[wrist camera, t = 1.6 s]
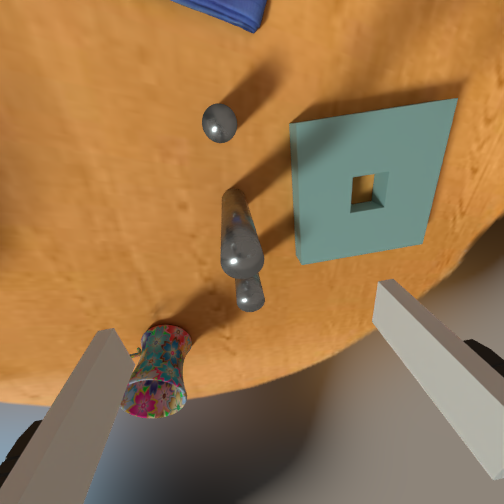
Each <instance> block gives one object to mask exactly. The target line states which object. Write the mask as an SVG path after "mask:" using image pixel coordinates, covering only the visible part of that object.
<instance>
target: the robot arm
mask: <svg viewBox="0 0 504 504" xmlns="http://www.w3.org/2000/svg"><path fill="white" fill-rule="evenodd" d="M372 322H373V324H374V325H375V326H376V327H377V329H378V330H379V331H380V333H381V334H382V335H383V337H384V338H385V339H386V341H387V342H388V343H389V345H390V346H391V347H392V348H393V350H394V351H395V352H396V354H397V355H398V356H399V358H400V359H401V360H402V362H403V363H404V364H405V365H406V367H407V368H408V369H409V371H410V372H411V373H412V375H413V376H414V377H415V379H416V380H417V381H418V383H419V384H420V385H421V386H422V388H423V389H424V390H425V392H426V393H427V394H428V396H429V397H430V398H431V400H432V401H433V402H434V403H435V405H436V406H437V407H438V409H439V410H440V411H441V413H442V414H443V415H444V416H445V418H446V419H447V420H448V422H449V423H450V424H451V426H452V427H453V428H454V430H455V431H456V432H457V434H458V435H459V436H460V438H461V439H462V440H463V441H464V443H465V444H466V445H467V447H468V448H469V449H470V451H471V452H472V453H473V455H474V456H475V457H476V459H477V460H478V461H479V462H480V464H481V465H482V466H483V468H484V469H485V470H486V472H487V473H488V474H489V476H490V477H491V478H492V479H493V480H497V479H501V478H504V360H503V359H502V358H501V357H499V356H498V355H497V354H496V353H495V352H493V351H492V350H491V349H489V348H487V347H485V346H484V345H482V344H480V343H478V342H477V341H475V340H473V339H470V340H466V341H462V340H461V339H460V338H459V337H458V336H456V335H455V334H454V333H453V332H452V331H451V330H450V329H449V328H447V327H446V326H445V325H444V324H443V323H442V322H441V321H440V320H439V319H438V318H436V317H435V316H434V315H433V314H432V313H431V312H430V311H429V310H427V309H426V308H425V307H424V306H423V305H422V304H420V302H419V301H417V300H416V299H415V298H414V297H413V296H412V295H411V294H410V293H408V292H407V291H406V290H405V289H404V288H403V287H402V286H401V285H399V284H398V283H397V282H396V281H395V280H394V279H390V280H384V281H378V287H377V293H376V300H375V306H374V313H373V319H372ZM134 367H135V364H134V362H133V360H132V358H131V357H130V355H129V353H128V352H127V350H126V348H125V346H124V345H123V343H122V341H121V340H120V338H119V336H118V334H117V333H116V331H115V329H114V328H112V329H106V330H101V331H98V332H97V333H96V335H95V336H94V338H93V340H92V341H91V343H90V345H89V346H88V348H87V349H86V351H85V353H84V354H83V356H82V357H81V359H80V361H79V362H78V364H77V366H76V367H75V369H74V370H73V372H72V374H71V375H70V377H69V378H68V380H67V382H66V383H65V385H64V387H63V388H62V390H61V391H60V393H59V395H58V396H57V398H56V399H55V401H54V403H53V404H52V406H51V408H50V409H49V411H48V412H47V414H46V416H45V417H44V419H43V420H39V421H35V422H34V423H33V424H32V425H31V426H30V427H29V428H28V429H27V430H26V431H25V432H24V433H23V434H22V435H21V436H20V437H19V439H18V440H17V441H16V443H15V445H14V446H13V447H12V449H11V450H10V452H9V453H8V455H7V456H6V458H5V461H4V462H2V464H1V465H0V504H83V503H84V500H85V497H86V495H87V492H88V489H89V487H90V484H91V481H92V479H93V476H94V473H95V471H96V468H97V465H98V463H99V460H100V457H101V455H102V452H103V449H104V447H105V444H106V441H107V439H108V436H109V433H110V431H111V428H112V425H113V423H114V420H115V417H116V415H117V412H118V409H119V407H120V404H121V401H122V399H123V396H124V393H125V391H126V388H127V385H128V383H129V380H130V377H131V375H132V372H133V369H134Z"/></svg>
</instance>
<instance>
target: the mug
mask: <svg viewBox="0 0 504 504" xmlns="http://www.w3.org/2000/svg"><path fill="white" fill-rule="evenodd" d="M141 346H142V354H141V349H140V348H139V347H138V348H137V352H138V353H134V354H130V357H131V358H134V357H138V356H140V355H141V358H140V360H139V363H138V365H137V367H136V369H135V370H134V372H133V373H132V375H131V377H130V380H129V383H128V385H127V388H126V391H125V393H124V396H123V399H122V401H121V404H120V407H121V409H123V410H124V411H125V412H127V413H129V414H131V415H134V416H137V417H142V418H160V417H165V416H169V415H172V414H174V413H176V412H178V411H179V410H180V409H181V408H182V407H183V406H184V405H185V403H186V400H187V393H186V390H185V387H184V382H183V363H184V359H185V357H186V355H187V353H188V352H189V351H190V349H191V346H192V340H191V337H190V336H189V334H188V333H187V332H186V331H185V330H183V329H182V328H180V327H177V326H173V325H158V326H155V327H152V328H150V329H149V330H147V331H146V332H145V333H144V335H143V336H142V339H141Z"/></svg>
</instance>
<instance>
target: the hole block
mask: <svg viewBox="0 0 504 504" xmlns="http://www.w3.org/2000/svg"><path fill="white" fill-rule="evenodd" d="M457 100H458V98H454V99H446V100H438V101H431V102H424V103H418V104H412V105H405V106H399V107H392V108H386V109H380V110H373V111H367V112H361V113H354V114H348V115H341V116H335V117H329V118H322V119H316V120H309V121H303V122H297V123H290V124H289V128H290V148H291V167H292V186H293V206H294V225H295V245H296V256H297V258H298V259H299V261H300V263H301V265H305V264H310V263H316V262H322V261H328V260H333V259H339V258H345V257H350V256H356V255H362V254H367V253H373V252H379V251H385V250H390V249H396V248H402V247H407V246H413V245H419V244H422V243H423V239H424V235H425V231H426V227H427V223H428V219H429V215H430V211H431V207H432V202H433V198H434V194H435V190H436V186H437V182H438V178H439V174H440V170H441V166H442V162H443V157H444V153H445V149H446V145H447V141H448V137H449V133H450V129H451V125H452V121H453V116H454V112H455V108H456V104H457ZM370 174H375V175H374V184H373V193H372V201H369V202H363V203H357V204H351V195H352V181H353V177H358V176H364V175H370Z"/></svg>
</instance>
